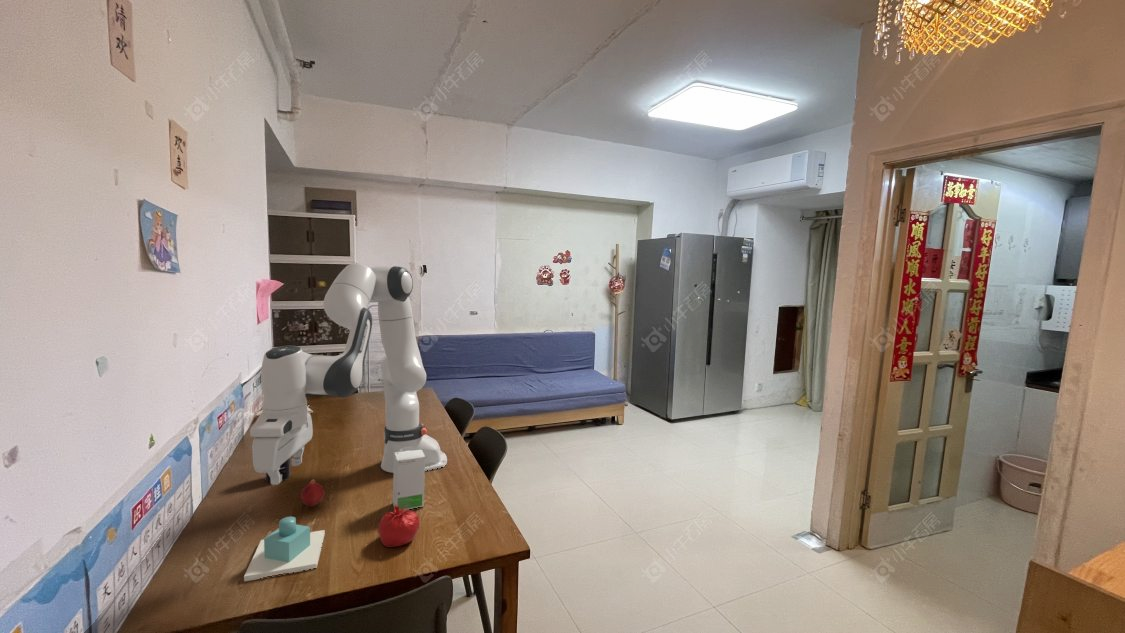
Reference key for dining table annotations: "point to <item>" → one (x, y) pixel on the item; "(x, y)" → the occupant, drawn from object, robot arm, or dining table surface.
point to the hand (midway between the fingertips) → (287, 473)
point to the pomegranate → (398, 527)
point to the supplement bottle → (282, 471)
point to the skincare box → (409, 479)
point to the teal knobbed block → (287, 540)
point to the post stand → (274, 567)
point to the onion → (312, 494)
